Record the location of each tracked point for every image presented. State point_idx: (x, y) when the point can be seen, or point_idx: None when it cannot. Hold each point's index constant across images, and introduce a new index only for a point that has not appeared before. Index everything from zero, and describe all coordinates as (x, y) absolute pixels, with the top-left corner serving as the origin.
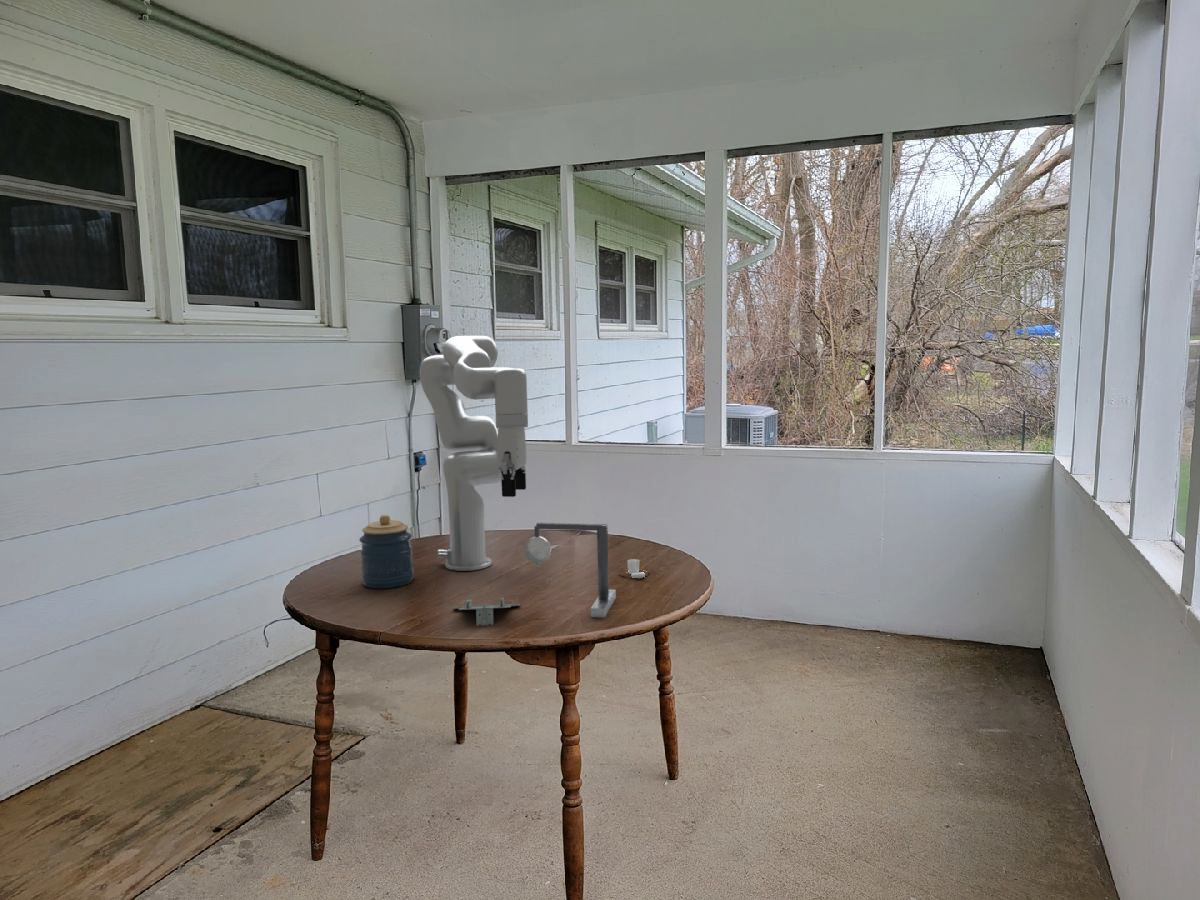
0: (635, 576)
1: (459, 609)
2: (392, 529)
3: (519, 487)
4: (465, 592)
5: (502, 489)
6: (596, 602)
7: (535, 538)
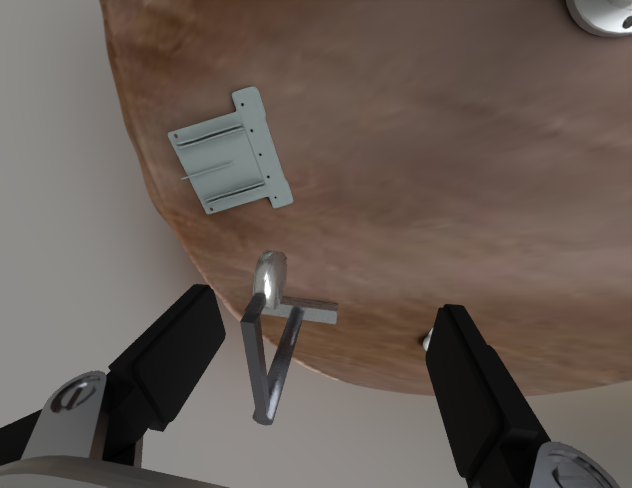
0: (424, 340)
1: (168, 134)
2: None
3: (435, 345)
4: (353, 66)
5: (170, 311)
6: (281, 306)
7: (253, 293)
